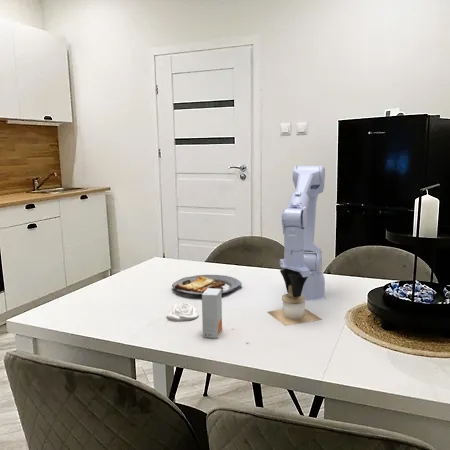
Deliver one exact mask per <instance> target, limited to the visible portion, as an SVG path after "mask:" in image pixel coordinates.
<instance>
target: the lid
mask: <svg viewBox="0 0 450 450" xmlns="http://www.w3.org/2000/svg"><path fill="white" fill-rule="evenodd" d="M281 301H282V302H283V301H284V302H286V303H293V304H297V303H302V302H304V301H305V296H304V295H301V296H300V297H293V293H292V284H291V285H289V286H288V293H284V294H283V295H281ZM305 302H306V301H305Z"/></svg>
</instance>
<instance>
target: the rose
mask: <svg viewBox="0 0 450 450" xmlns="http://www.w3.org/2000/svg"><path fill="white" fill-rule="evenodd" d="M197 311H198V310H197V308H196V307H194V306H193V305H191V304H190V303H188V302H179V301H178V302H176V303H174V304H173V305H172V307H171V308H170V309H169V313H167V314H166V318H168V319H169V320H171V321H174V322H184V321H193V320H196V319H197V318H199V315H200V313H199V312H197Z"/></svg>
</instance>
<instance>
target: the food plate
mask: <svg viewBox="0 0 450 450" xmlns="http://www.w3.org/2000/svg"><path fill="white" fill-rule="evenodd" d="M242 284H243V283H242V281H240V280H239V279H237V278H236V277H233V276H229V275H222V274H221V275H220V274H197V275H193V276H186V277H182V278H181V279H179V280H178V279H177V280H176V281H175V282H173V283H172V285H171V286H172V289H173V290H174V291H176V292H180V293H183V294H188V295H200V296H202V294H203V293H204V291H205V290H206V289H207V288H214V289H221V294H227V293H231V292H232V291H233V290H235V289H237V288H238V287H239V286H242ZM224 286H228V287H227V289H226V287H224ZM225 289H226V290H225Z"/></svg>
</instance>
